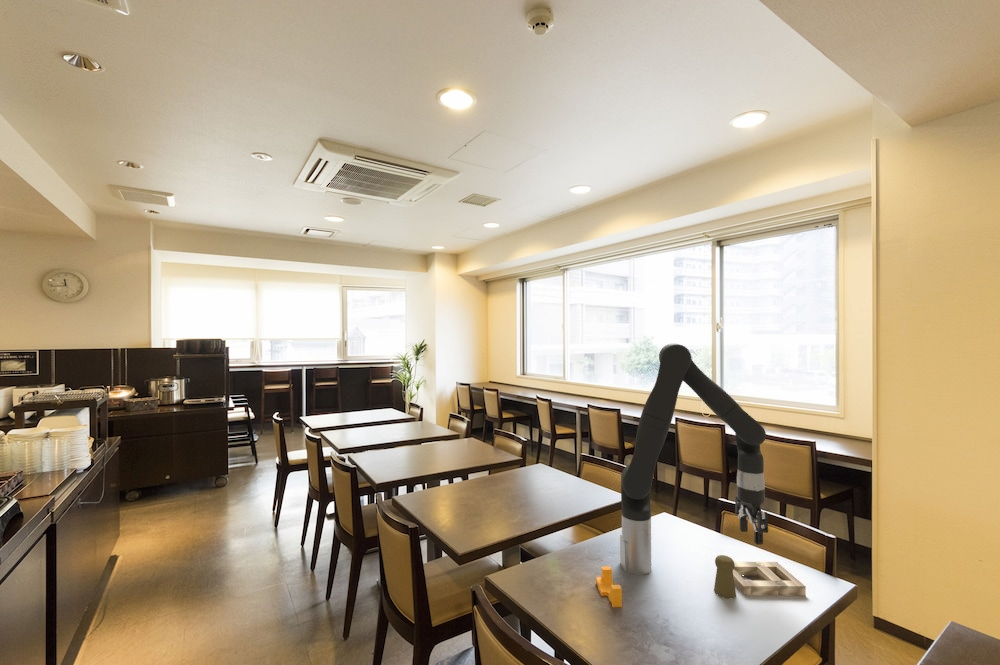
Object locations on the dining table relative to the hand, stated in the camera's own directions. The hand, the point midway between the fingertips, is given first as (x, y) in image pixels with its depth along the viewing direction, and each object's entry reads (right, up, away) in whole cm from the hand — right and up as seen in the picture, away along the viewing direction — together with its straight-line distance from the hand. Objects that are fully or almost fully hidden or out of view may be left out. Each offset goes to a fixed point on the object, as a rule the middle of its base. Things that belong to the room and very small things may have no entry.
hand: (750, 537), depth 139 cm
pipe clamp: (-46, -15, -7) cm, 49 cm away
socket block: (+3, -14, 0) cm, 14 cm away
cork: (-11, -14, -6) cm, 19 cm away
